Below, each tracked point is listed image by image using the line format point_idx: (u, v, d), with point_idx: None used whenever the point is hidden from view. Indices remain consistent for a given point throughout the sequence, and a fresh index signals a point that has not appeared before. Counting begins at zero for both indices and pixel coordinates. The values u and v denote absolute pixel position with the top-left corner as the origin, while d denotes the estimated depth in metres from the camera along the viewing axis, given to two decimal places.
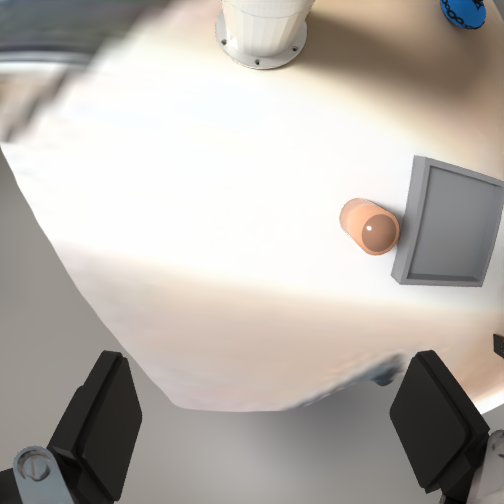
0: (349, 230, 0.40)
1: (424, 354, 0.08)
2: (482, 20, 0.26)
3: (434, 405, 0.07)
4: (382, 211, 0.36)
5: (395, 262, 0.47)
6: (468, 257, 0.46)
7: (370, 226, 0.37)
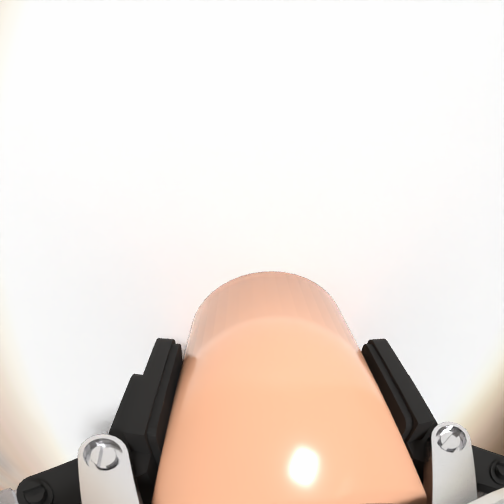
0: (247, 359, 0.06)
1: (374, 342, 0.09)
2: None
3: None
4: None
5: None
6: None
7: None
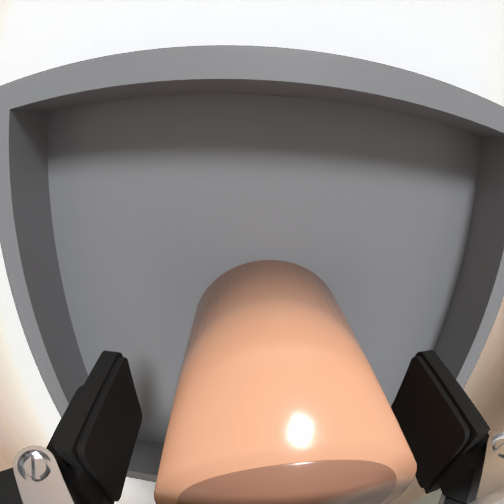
0: (247, 332, 0.07)
1: (424, 354, 0.08)
2: None
3: (434, 405, 0.07)
4: (402, 488, 0.05)
5: None
6: (160, 415, 0.14)
7: (338, 482, 0.04)
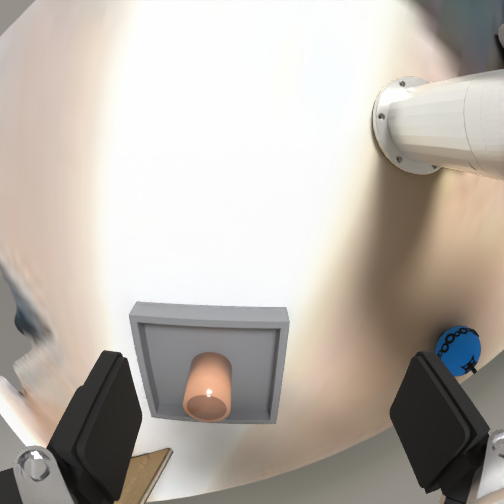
0: (200, 373, 0.37)
1: (424, 354, 0.08)
2: None
3: (434, 405, 0.07)
4: (229, 408, 0.35)
5: (153, 304, 0.39)
6: (179, 394, 0.44)
7: (212, 400, 0.34)
